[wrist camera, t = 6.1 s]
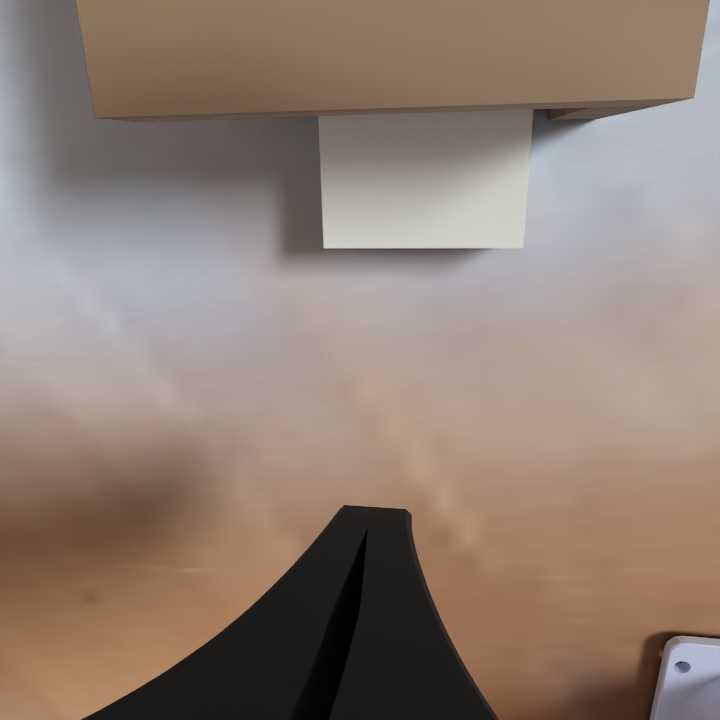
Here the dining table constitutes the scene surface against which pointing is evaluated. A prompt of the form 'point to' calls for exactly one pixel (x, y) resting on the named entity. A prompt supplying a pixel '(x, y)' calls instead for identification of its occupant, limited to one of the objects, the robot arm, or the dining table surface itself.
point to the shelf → (387, 56)
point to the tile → (425, 179)
